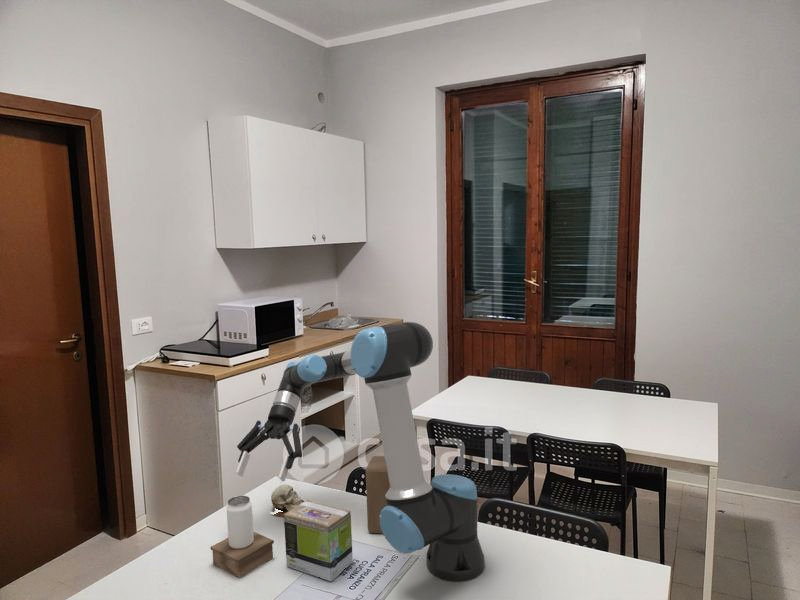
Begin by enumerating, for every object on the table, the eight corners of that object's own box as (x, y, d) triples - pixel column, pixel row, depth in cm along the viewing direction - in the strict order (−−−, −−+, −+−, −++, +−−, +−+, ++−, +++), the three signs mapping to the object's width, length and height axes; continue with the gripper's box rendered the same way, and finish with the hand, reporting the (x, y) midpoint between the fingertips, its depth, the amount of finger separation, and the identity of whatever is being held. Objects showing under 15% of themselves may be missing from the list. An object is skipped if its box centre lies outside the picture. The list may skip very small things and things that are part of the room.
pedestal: (274, 557, 154) (273, 540, 153) (239, 579, 144) (238, 560, 144) (246, 545, 161) (245, 528, 160) (211, 564, 151) (210, 546, 151)
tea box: (354, 563, 150) (352, 509, 149) (330, 583, 142) (328, 527, 140) (309, 548, 158) (307, 497, 156) (285, 567, 149) (282, 513, 148)
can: (257, 537, 155) (255, 495, 154) (248, 550, 148) (245, 506, 147) (235, 536, 156) (232, 494, 154) (224, 549, 149) (221, 505, 148)
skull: (314, 497, 187) (304, 484, 180) (303, 529, 181) (293, 516, 173) (281, 492, 190) (270, 479, 183) (270, 523, 184) (258, 510, 177)
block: (401, 536, 163) (399, 469, 161) (367, 534, 165) (364, 467, 163) (406, 519, 173) (404, 455, 171) (374, 517, 175) (371, 454, 172)
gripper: (325, 418, 171) (304, 486, 159) (253, 412, 179) (228, 477, 166) (316, 405, 166) (294, 476, 153) (242, 400, 173) (215, 467, 161)
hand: (259, 477), depth 160 cm, fingers open, 13 cm apart
